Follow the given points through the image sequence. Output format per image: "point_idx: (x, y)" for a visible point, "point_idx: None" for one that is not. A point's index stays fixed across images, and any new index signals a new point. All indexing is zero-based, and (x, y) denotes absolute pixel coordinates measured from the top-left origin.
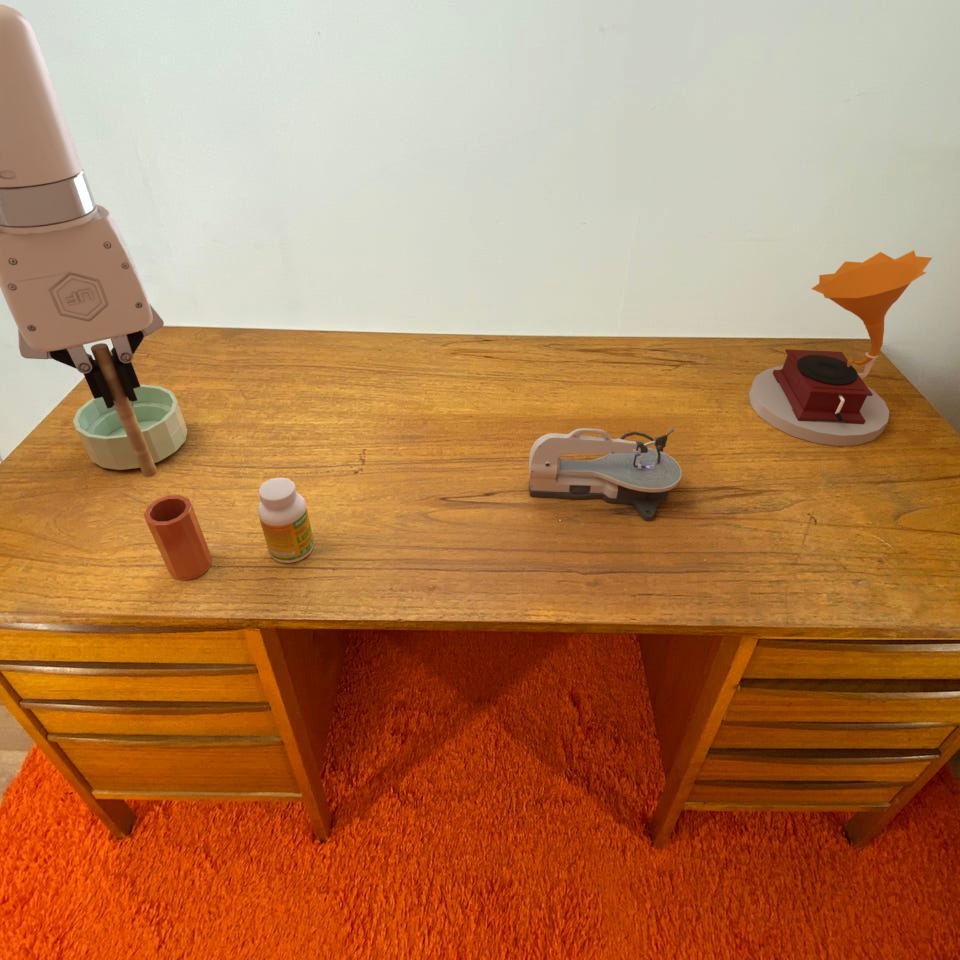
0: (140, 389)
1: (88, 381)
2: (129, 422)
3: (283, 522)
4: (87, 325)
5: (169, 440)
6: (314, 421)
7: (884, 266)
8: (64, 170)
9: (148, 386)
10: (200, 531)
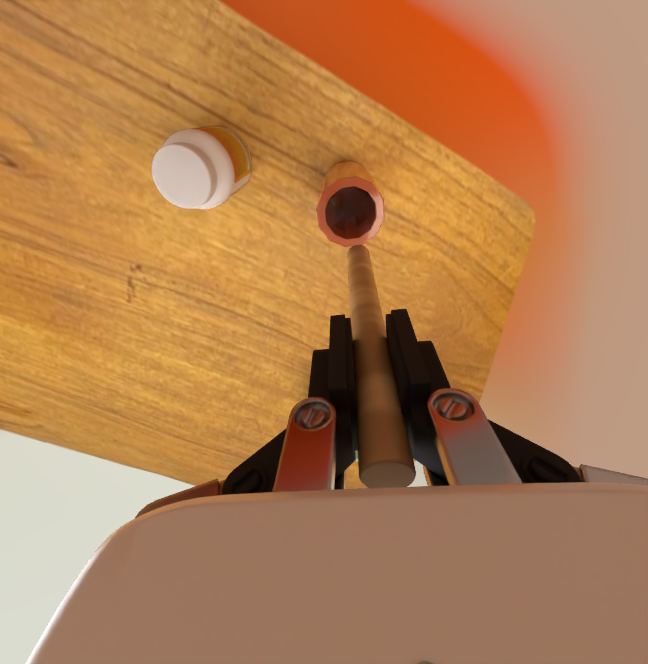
0: None
1: (440, 375)
2: (365, 297)
3: (194, 130)
4: (443, 622)
5: None
6: (187, 366)
7: None
8: None
9: None
10: (320, 193)
